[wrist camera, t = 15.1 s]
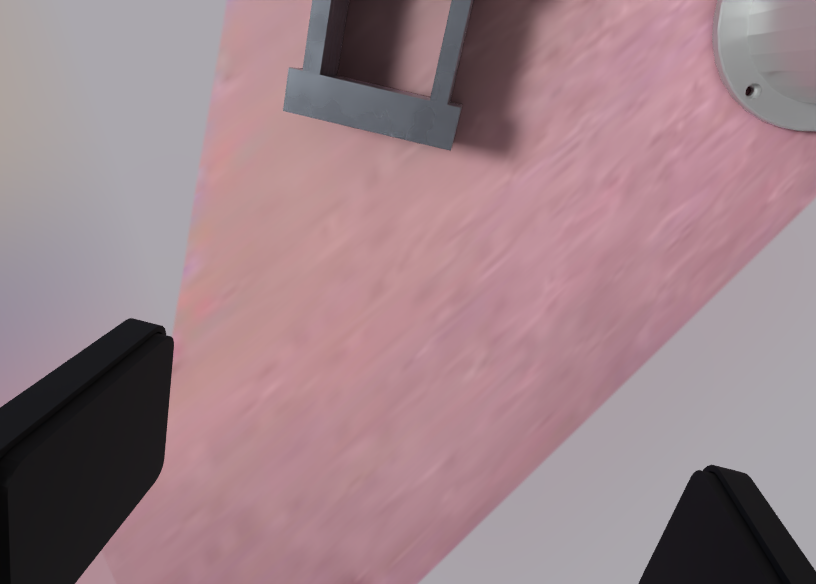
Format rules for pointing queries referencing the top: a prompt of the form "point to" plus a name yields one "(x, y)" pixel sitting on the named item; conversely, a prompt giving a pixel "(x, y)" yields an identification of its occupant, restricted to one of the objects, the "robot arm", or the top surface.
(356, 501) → the top surface
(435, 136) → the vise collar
